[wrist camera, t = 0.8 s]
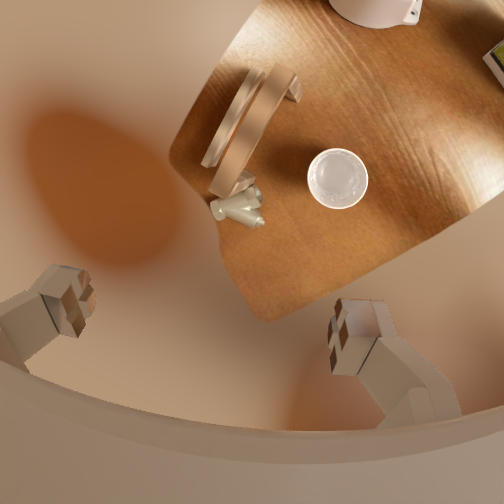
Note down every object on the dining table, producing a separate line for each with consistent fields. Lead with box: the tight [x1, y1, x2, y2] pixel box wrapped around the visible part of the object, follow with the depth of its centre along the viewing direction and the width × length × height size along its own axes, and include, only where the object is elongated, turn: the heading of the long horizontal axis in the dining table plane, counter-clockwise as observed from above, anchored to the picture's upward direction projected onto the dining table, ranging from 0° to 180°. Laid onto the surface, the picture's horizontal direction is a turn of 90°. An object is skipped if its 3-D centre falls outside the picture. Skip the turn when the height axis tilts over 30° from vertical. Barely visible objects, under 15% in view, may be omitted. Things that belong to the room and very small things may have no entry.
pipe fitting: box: [210, 185, 265, 229], centre depth 50 cm, size 8×4×7 cm
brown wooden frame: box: [201, 63, 304, 200], centre depth 40 cm, size 18×8×14 cm, turn 152°
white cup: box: [307, 148, 368, 209], centre depth 42 cm, size 8×8×10 cm
